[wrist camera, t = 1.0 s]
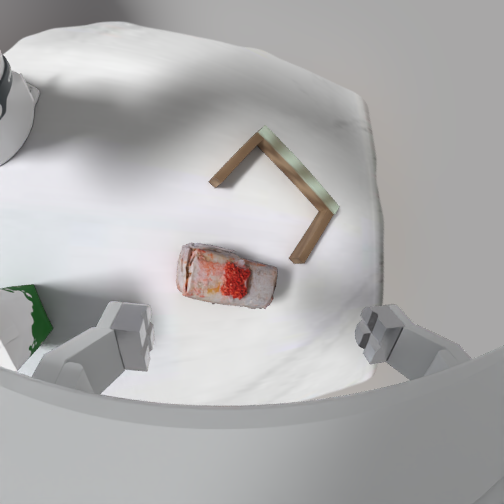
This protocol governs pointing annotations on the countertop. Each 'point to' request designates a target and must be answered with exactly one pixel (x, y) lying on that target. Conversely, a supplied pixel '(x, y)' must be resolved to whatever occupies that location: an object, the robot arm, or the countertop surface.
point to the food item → (224, 277)
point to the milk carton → (21, 325)
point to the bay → (297, 175)
